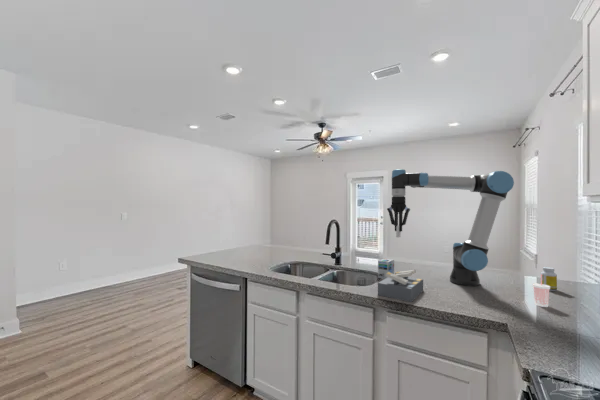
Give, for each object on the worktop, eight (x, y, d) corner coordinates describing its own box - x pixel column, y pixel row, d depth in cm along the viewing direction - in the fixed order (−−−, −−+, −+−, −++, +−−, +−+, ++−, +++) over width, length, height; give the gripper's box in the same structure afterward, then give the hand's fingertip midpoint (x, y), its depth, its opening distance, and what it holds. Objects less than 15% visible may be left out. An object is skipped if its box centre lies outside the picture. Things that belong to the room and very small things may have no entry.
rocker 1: (407, 283, 137) (408, 280, 137) (405, 284, 135) (406, 281, 134) (388, 274, 143) (388, 271, 143) (385, 275, 140) (386, 273, 140)
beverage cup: (538, 307, 125) (538, 275, 125) (529, 302, 131) (529, 272, 131) (554, 308, 124) (553, 276, 125) (544, 303, 130) (544, 272, 131)
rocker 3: (416, 272, 148) (415, 269, 149) (414, 273, 145) (413, 270, 146) (397, 274, 154) (397, 271, 154) (395, 275, 151) (394, 273, 152)
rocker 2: (412, 274, 143) (411, 271, 143) (410, 276, 140) (409, 273, 140) (393, 277, 149) (392, 274, 149) (391, 278, 146) (390, 275, 146)
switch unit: (423, 290, 148) (423, 276, 148) (411, 301, 131) (411, 286, 131) (392, 285, 158) (393, 272, 158) (377, 294, 140) (377, 280, 140)
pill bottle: (560, 291, 148) (560, 269, 149) (547, 291, 149) (547, 269, 149) (549, 287, 155) (549, 266, 155) (537, 287, 155) (537, 266, 155)
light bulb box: (388, 280, 168) (388, 262, 168) (377, 278, 172) (377, 260, 172) (394, 276, 177) (394, 259, 177) (384, 274, 181) (384, 258, 181)
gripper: (385, 196, 164) (385, 236, 163) (408, 196, 156) (408, 238, 155) (389, 196, 170) (389, 235, 169) (412, 196, 162) (412, 237, 161)
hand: (398, 237), depth 162 cm, fingers closed
